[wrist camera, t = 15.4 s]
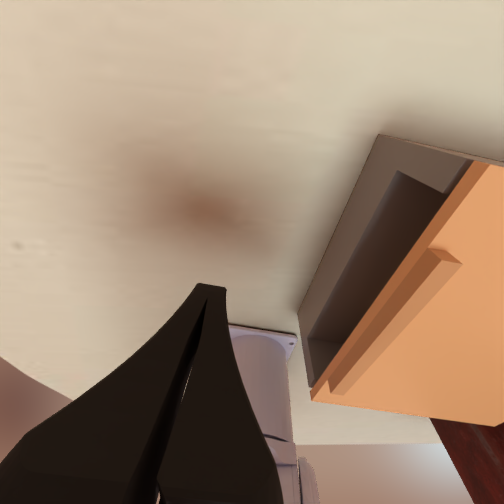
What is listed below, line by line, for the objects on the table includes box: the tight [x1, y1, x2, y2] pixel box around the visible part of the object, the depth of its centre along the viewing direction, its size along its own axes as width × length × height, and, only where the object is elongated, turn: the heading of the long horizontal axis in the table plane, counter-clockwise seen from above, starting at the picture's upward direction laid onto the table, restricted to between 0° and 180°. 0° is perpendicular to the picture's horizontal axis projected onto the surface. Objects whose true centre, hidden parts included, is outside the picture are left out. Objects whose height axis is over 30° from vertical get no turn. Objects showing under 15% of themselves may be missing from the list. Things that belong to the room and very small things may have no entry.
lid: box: [310, 160, 504, 427], centre depth 11 cm, size 16×14×1 cm
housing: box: [298, 134, 504, 388], centre depth 15 cm, size 16×14×7 cm
